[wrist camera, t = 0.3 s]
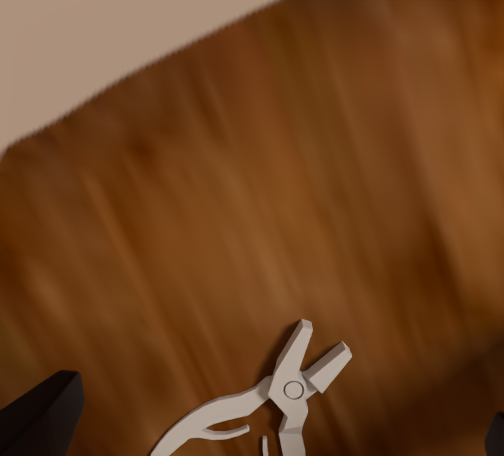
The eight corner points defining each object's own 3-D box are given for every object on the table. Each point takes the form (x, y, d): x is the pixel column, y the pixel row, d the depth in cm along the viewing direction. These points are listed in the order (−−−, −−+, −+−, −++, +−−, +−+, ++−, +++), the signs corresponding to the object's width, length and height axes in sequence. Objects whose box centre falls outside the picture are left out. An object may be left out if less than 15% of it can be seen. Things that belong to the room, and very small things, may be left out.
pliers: (132, 486, 26) (257, 295, 24) (140, 468, 28) (258, 287, 25) (264, 562, 26) (399, 383, 24) (264, 540, 28) (391, 369, 26)
